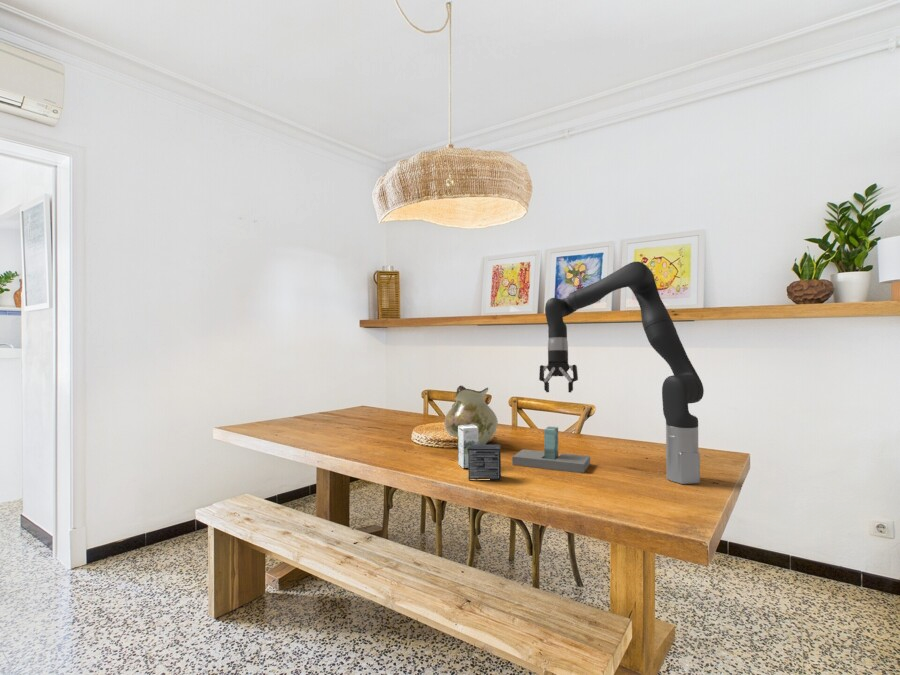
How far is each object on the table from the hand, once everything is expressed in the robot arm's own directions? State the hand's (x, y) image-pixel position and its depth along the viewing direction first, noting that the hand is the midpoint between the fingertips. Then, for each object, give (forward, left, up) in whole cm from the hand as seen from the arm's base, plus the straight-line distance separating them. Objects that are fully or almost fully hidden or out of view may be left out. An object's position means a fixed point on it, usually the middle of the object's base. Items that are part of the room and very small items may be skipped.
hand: (558, 392), depth 182 cm
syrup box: (-11, +36, -25) cm, 45 cm away
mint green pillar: (-11, +6, -25) cm, 27 cm away
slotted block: (-11, +6, -25) cm, 27 cm away
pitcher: (+22, +32, -25) cm, 46 cm away
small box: (-25, +32, -25) cm, 47 cm away
